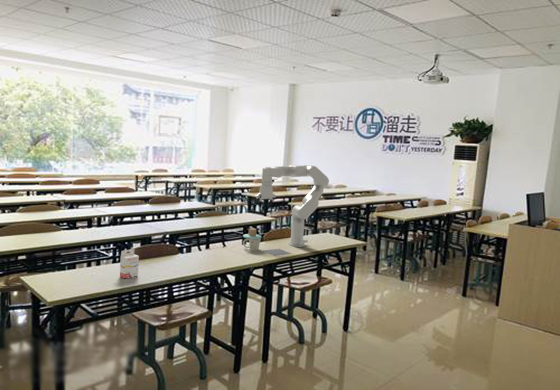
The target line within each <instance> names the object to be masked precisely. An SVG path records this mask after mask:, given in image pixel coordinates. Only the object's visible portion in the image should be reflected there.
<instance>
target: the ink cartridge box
mask: <svg viewBox="0 0 560 390" xmlns="http://www.w3.org/2000/svg"><path fill="white" fill-rule="evenodd" d="M139 258H140V256H139V255H137V254H135V249H134V248H131V249H125V250H121V252H120V261H119V263H120V264H119V278H121V277H123V278H122V279H124V278H127V279H129V278H128V277H132V278H135V277H134V276H137V277H138V276H139V266H140V265H139Z"/></svg>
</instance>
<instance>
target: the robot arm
mask: <svg viewBox="0 0 560 390" xmlns="http://www.w3.org/2000/svg"><path fill="white" fill-rule="evenodd" d="M261 171H262V173H261V184H260V187H259V190H258V193H257V194H256V195H255V197H256V200H257V203H258V207H259V208H261V207H262V205H263V203H262V201H263V200H269V204H268V205H269V207H273V202H274V200H276V196H277V195H276V194H275V193H274V191H273V189H274V188H273V184H274V182H273V178H277V179H278V178H282V177H291V178H301V177H310V178H312V179H313V181H312V182H313V187H312V189H311V190H310V191H309V192H308V193H307V194H306V195H305V196H304V197H303V198H302V200H301V201H302V205H301V204H297V205H294V206H293V207H292V210H291V228H290V229H291V231H290V242H288V244H287V245H288V246H291V247H293V248H294V247H295V248H303V247H305V246H306V245H305V243H307V244H308V239H304V232H305V220H306V219H308V218H309V217H310V216H311V214H313V213H314V212H315V211H316V209H317V208H318V207H319V199H320V198H321V196H322V195H323V193H324V187H327V186H329V182H330V179H329V178H328V176H327V175H326V174H324V173H323V171H322V170H320V168H318V167H317V166H315V165H305V164H304V165H288V166H285V165H284V166H283V165H282V166H273V167H271V166H264V167H262V170H261Z"/></svg>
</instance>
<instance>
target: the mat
mask: <svg viewBox="0 0 560 390" xmlns="http://www.w3.org/2000/svg"><path fill="white" fill-rule="evenodd" d="M262 252H265V253H268V254H269V255H271V256H273V257H274V256H282V255H285V256H286V255H291V254H292V253H291V252H289V251H286V250H284V249H281V248H273V249H265V250H262Z"/></svg>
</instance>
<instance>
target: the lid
mask: <svg viewBox="0 0 560 390" xmlns="http://www.w3.org/2000/svg"><path fill="white" fill-rule="evenodd" d="M242 237H243V238H244V239H259V238H262V235H260V234H257V228H254V227H252V228H248V233H247V234H246V233H245V234H243V235H242Z"/></svg>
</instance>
